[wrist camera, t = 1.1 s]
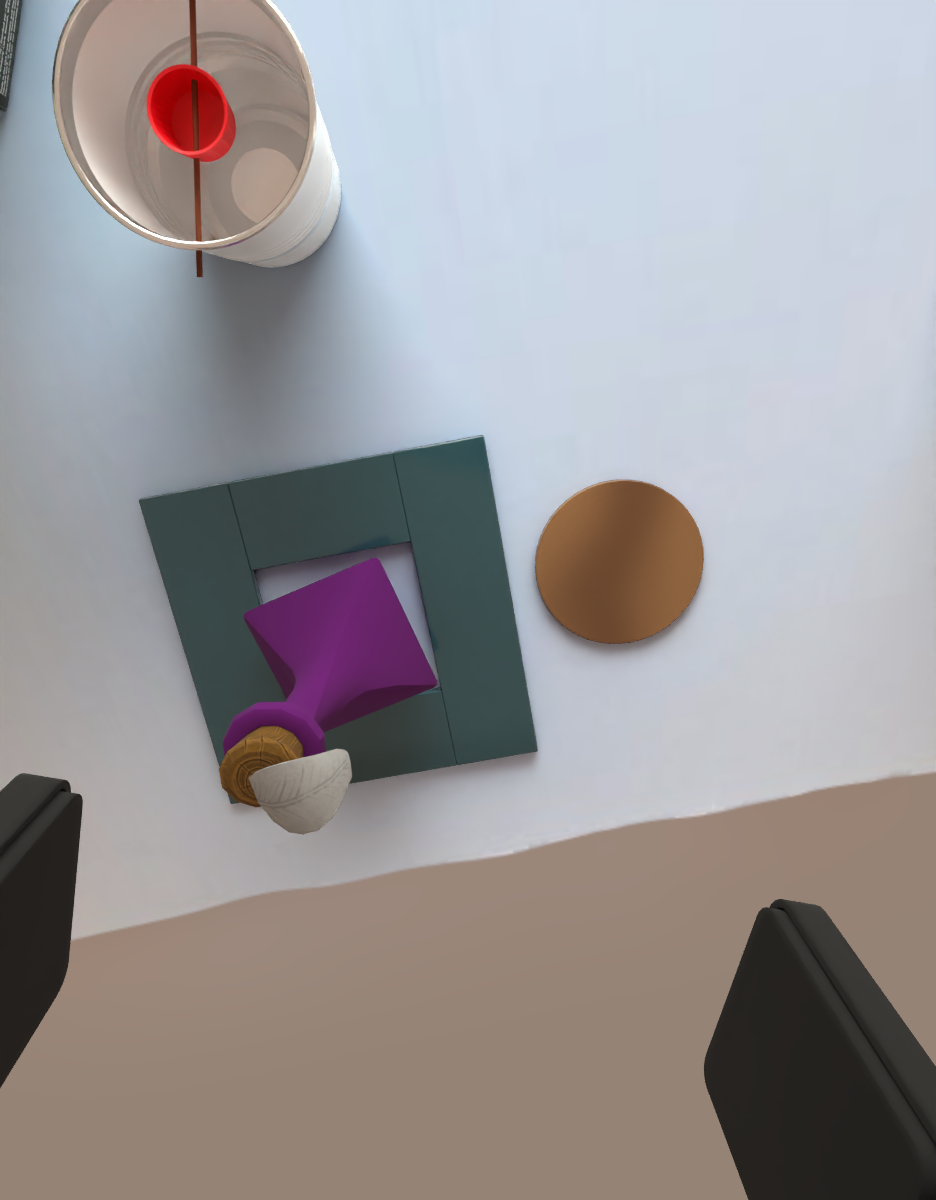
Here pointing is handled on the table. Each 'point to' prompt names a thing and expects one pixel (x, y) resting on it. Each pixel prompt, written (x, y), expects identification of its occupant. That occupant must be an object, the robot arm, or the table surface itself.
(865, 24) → the table surface
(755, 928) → the robot arm
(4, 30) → the box
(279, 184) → the striped cup with float
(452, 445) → the green square frame
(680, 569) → the coaster
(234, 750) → the purple corked potion bottle
